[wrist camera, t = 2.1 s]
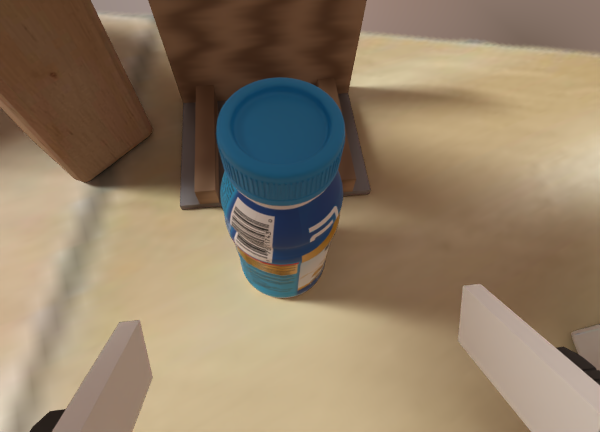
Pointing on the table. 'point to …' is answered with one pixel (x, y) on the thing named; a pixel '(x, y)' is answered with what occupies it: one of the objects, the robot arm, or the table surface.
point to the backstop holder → (255, 71)
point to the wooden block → (67, 85)
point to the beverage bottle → (281, 181)
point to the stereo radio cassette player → (588, 344)
